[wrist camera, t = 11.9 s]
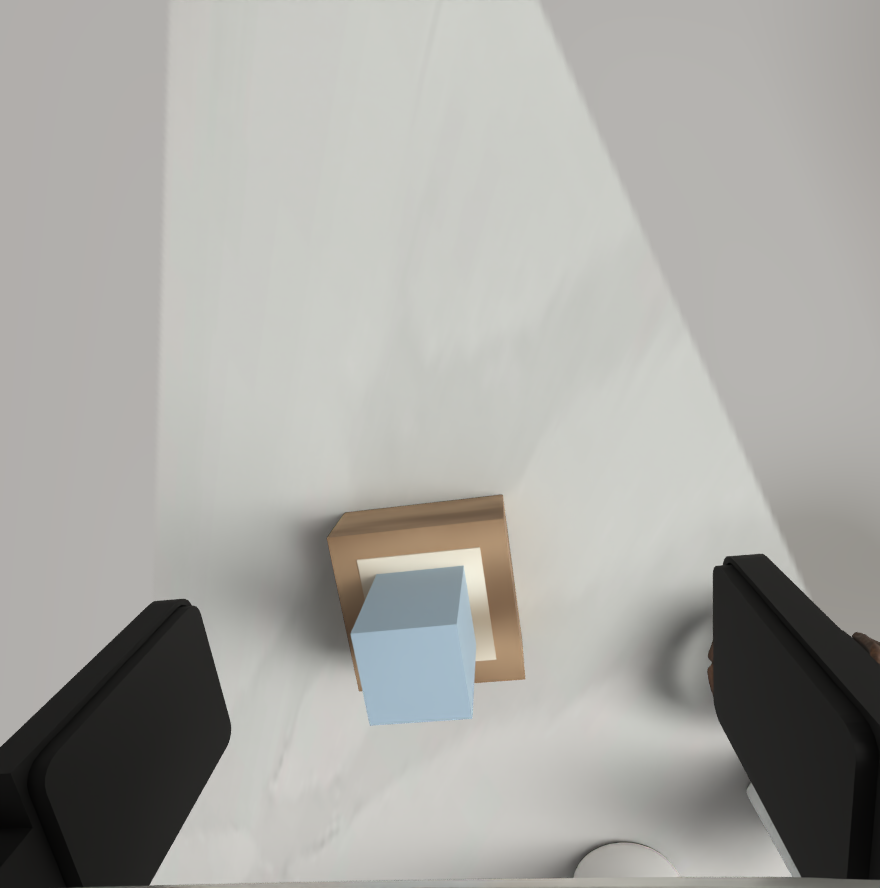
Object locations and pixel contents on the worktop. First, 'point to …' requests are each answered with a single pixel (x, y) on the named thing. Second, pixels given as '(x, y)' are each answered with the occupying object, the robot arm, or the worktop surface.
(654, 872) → the milk bottle
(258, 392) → the worktop surface
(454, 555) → the walnut plinth
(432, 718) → the slate block
